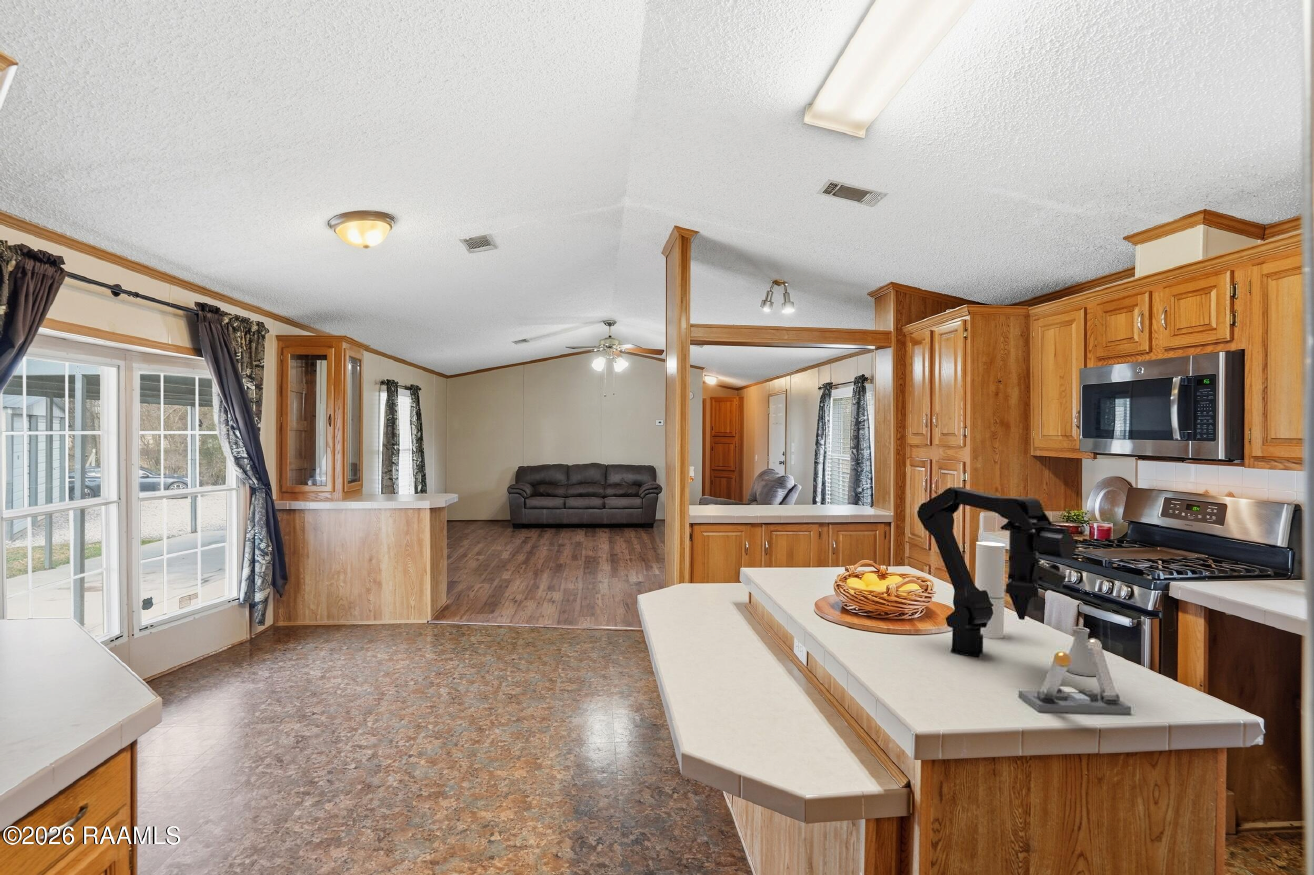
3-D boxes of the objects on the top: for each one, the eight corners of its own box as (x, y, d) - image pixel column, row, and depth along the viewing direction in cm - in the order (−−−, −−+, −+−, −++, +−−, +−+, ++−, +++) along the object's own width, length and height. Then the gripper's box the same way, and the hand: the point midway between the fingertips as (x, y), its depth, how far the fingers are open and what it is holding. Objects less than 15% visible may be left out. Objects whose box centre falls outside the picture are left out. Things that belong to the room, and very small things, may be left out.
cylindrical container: (1004, 633, 177) (1006, 543, 177) (1002, 640, 171) (1004, 546, 171) (975, 629, 181) (977, 540, 181) (972, 635, 175) (974, 543, 175)
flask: (1105, 678, 144) (1106, 634, 144) (1069, 675, 146) (1070, 631, 146) (1090, 667, 151) (1091, 625, 151) (1056, 664, 153) (1057, 622, 153)
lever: (1099, 702, 128) (1080, 639, 134) (1113, 702, 128) (1094, 640, 134) (1108, 700, 125) (1088, 636, 132) (1122, 700, 125) (1102, 637, 132)
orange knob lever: (1034, 692, 129) (1053, 648, 123) (1048, 692, 129) (1068, 648, 123) (1041, 703, 126) (1061, 659, 121) (1056, 704, 126) (1076, 660, 121)
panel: (1018, 697, 132) (1018, 683, 132) (1106, 699, 132) (1106, 685, 132) (1038, 711, 125) (1038, 697, 125) (1130, 714, 125) (1131, 699, 125)
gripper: (1066, 562, 136) (1064, 635, 136) (1062, 549, 152) (1061, 615, 152) (1006, 556, 141) (1005, 626, 141) (1009, 545, 157) (1007, 608, 157)
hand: (1021, 619), depth 148 cm, fingers closed
